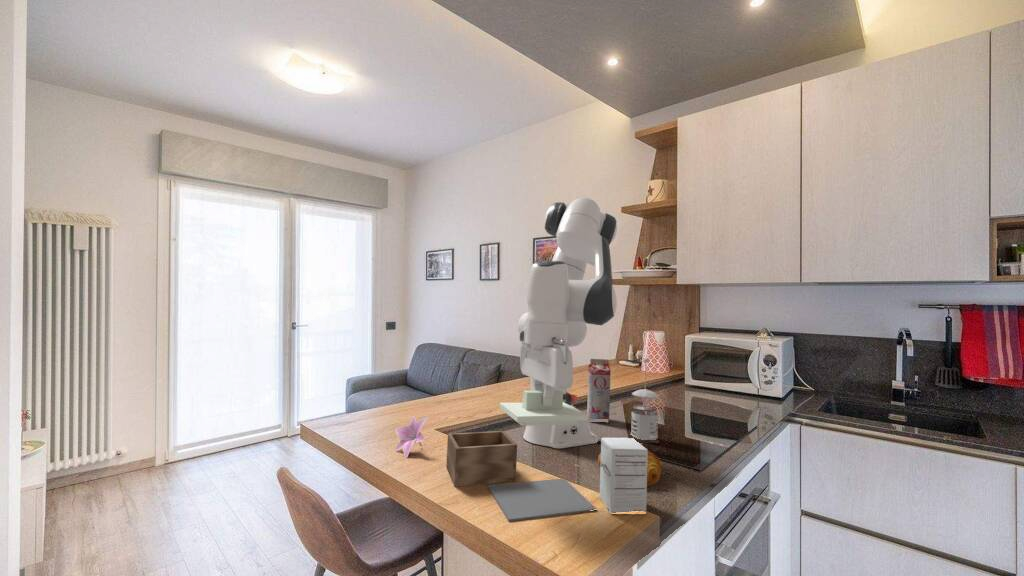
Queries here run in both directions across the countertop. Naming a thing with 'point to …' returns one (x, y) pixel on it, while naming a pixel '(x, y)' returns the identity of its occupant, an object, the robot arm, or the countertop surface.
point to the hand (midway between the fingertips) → (543, 403)
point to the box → (481, 458)
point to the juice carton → (598, 389)
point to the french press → (643, 423)
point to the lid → (542, 410)
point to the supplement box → (623, 474)
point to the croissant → (648, 468)
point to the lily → (410, 435)
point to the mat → (539, 499)
